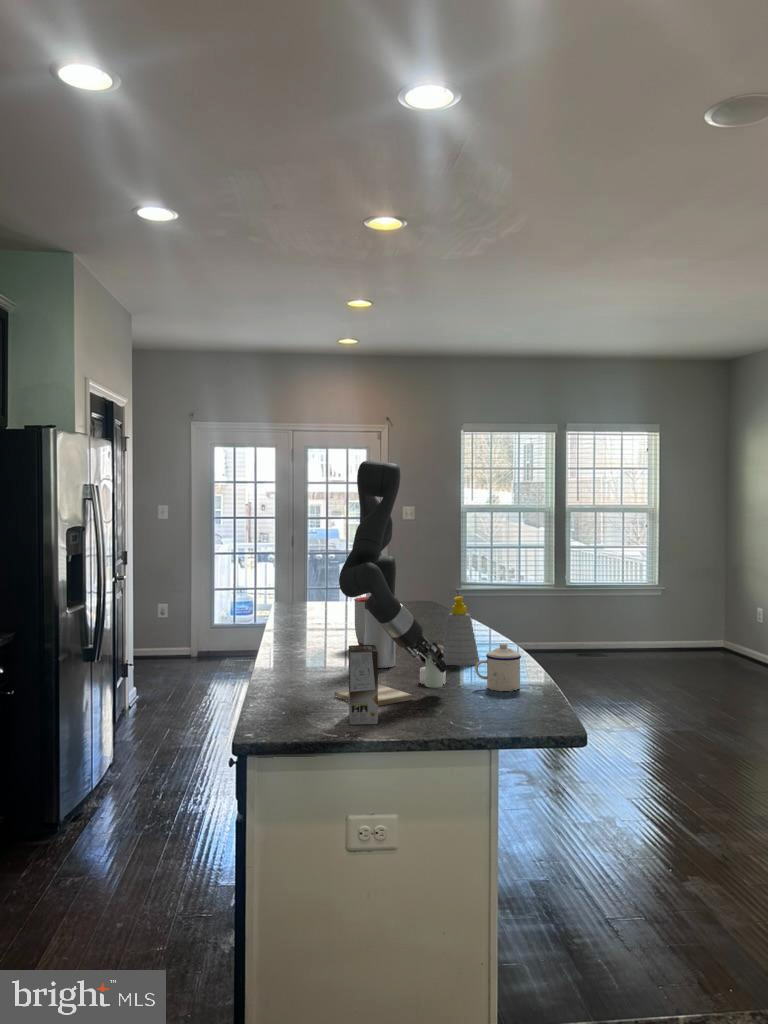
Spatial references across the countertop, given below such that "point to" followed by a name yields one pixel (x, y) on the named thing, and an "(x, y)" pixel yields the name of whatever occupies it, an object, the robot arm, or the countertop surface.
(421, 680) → the white domed cylinder
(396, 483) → the robot arm
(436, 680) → the jar
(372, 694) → the coffee box
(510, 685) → the teacup with lid
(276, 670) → the countertop surface
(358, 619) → the citrus juicer
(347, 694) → the board
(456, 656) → the soap bottle
